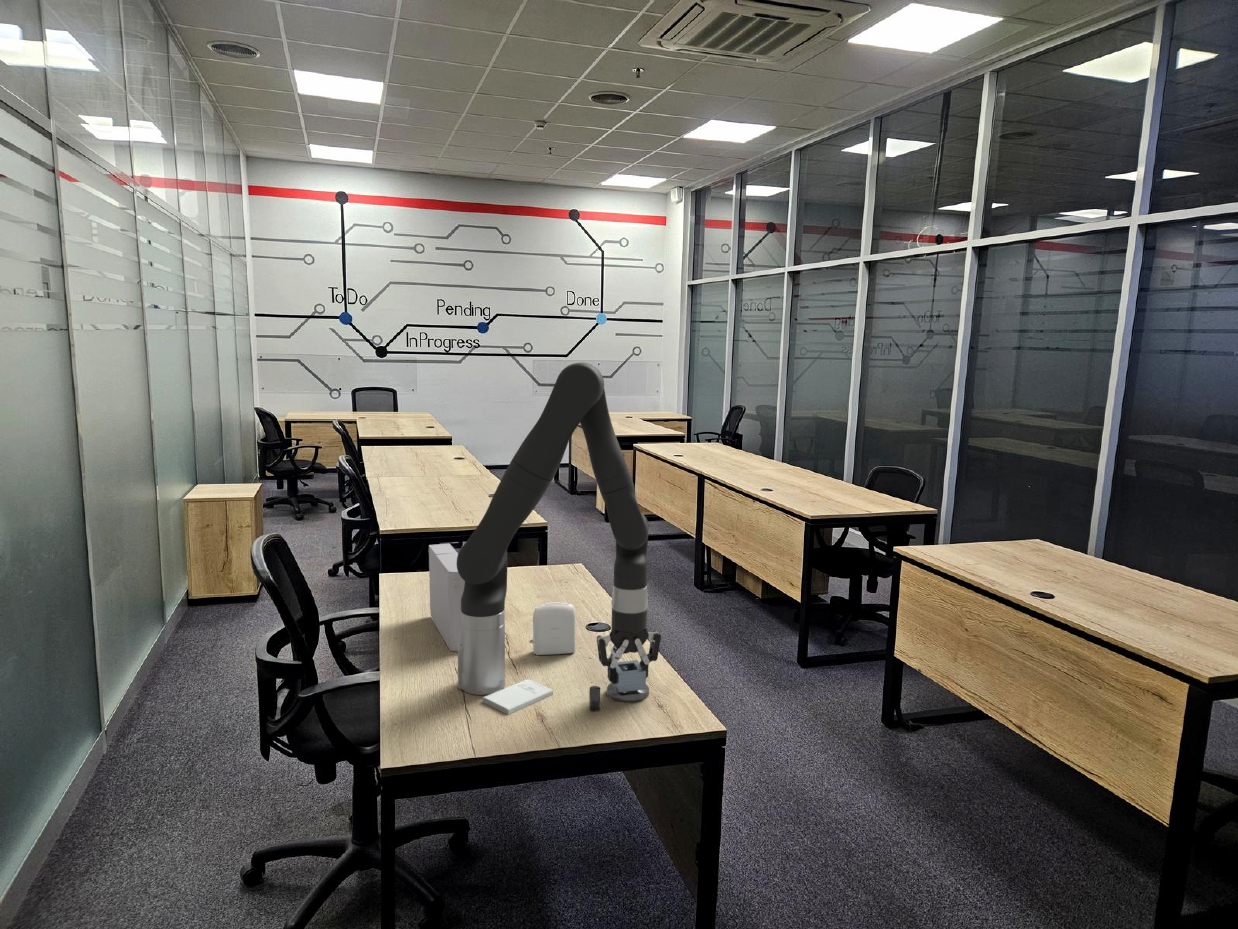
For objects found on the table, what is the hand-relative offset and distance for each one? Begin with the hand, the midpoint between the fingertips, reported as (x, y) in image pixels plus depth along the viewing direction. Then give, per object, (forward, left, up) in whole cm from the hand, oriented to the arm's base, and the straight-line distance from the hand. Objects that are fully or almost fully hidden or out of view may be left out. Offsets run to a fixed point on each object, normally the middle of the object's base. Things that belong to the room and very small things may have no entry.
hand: (627, 680), depth 163 cm
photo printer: (-22, +17, -3) cm, 28 cm away
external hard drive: (-22, -8, -3) cm, 24 cm away
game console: (-52, +23, -3) cm, 57 cm away
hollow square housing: (0, 0, -1) cm, 1 cm away
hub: (0, 0, -3) cm, 3 cm away
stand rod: (-5, -9, -3) cm, 11 cm away
